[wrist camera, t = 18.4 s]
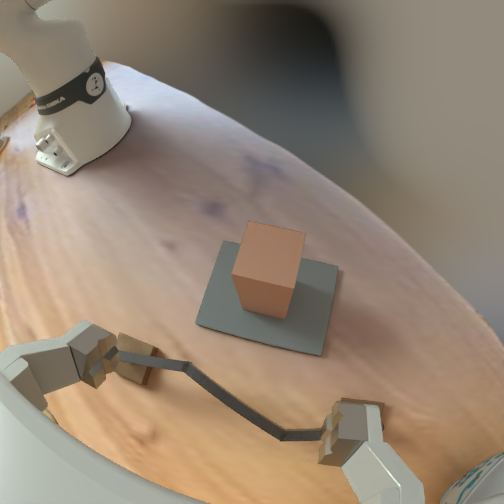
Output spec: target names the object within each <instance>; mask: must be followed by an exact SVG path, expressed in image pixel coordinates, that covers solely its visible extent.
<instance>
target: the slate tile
mask: <svg viewBox="0 0 504 504" xmlns="http://www.w3.org/2000/svg"><path fill="white" fill-rule="evenodd" d="M240 246H241V244H237V243H233V242H228V241H223V244H222V247H221V250H220V252H219V255H218V258H217V261H216V264H215V266H214V269H213V272H212V275H211V278H210V281H209V284H208V286H207V289H206V292H205V295H204V298H203V301H202V304H201V307H200V310H199V313H198V316H197V319H196V322H195V324H197V325H200V326H203V327H207V328H210V329H213V330H217V331H220V332H224V333H227V334H231V335H234V336H238V337H241V338H245V339H249V340H253V341H256V342H260V343H264V344H268V345H272V346H276V347H281V348H285V349H289V350H294V351H298V352H303V353H307V354H312V355H317V356H321V355H322V350H323V346H324V341H325V337H326V332H327V327H328V322H329V317H330V312H331V307H332V302H333V296H334V290H335V285H336V279H337V272H338V266H334V265H329V264H325V263H321V262H316V261H312V260H308V259H303V258H301V260H300V264H299V269H298V273H297V278H296V282H295V287H294V291H293V294H292V297H291V301H290V304H289V307H288V311H287V314H286V317H285V319H281V318H276V317H272V316H268V315H264V314H260V313H256V312H252V311H248V310H244V309H243V308H242V305H241V302H240V299H239V296H238V293H237V290H236V287H235V284H234V280H233V277H232V274H231V273H232V270H233V267H234V264H235V261H236V258H237V255H238V252H239V249H240Z"/></svg>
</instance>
